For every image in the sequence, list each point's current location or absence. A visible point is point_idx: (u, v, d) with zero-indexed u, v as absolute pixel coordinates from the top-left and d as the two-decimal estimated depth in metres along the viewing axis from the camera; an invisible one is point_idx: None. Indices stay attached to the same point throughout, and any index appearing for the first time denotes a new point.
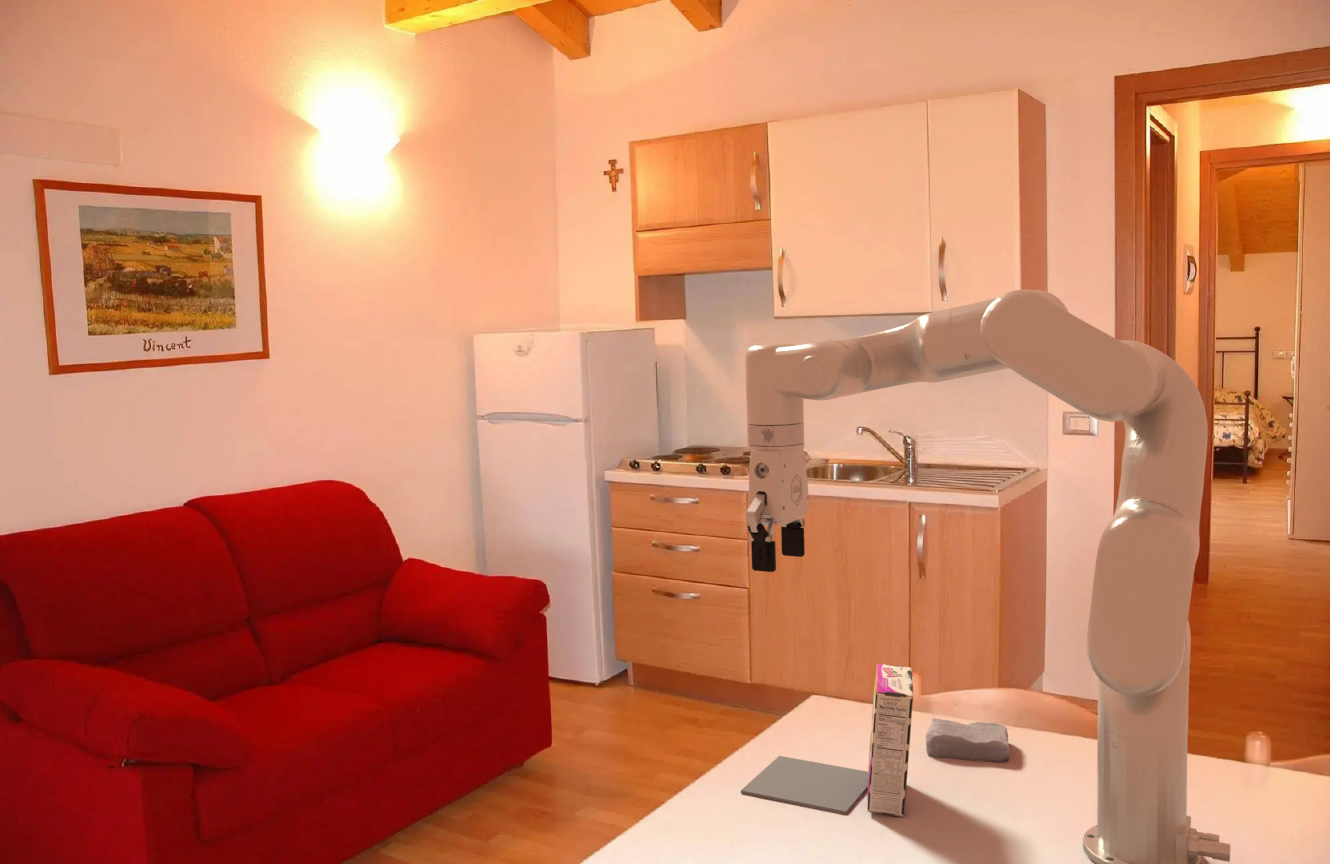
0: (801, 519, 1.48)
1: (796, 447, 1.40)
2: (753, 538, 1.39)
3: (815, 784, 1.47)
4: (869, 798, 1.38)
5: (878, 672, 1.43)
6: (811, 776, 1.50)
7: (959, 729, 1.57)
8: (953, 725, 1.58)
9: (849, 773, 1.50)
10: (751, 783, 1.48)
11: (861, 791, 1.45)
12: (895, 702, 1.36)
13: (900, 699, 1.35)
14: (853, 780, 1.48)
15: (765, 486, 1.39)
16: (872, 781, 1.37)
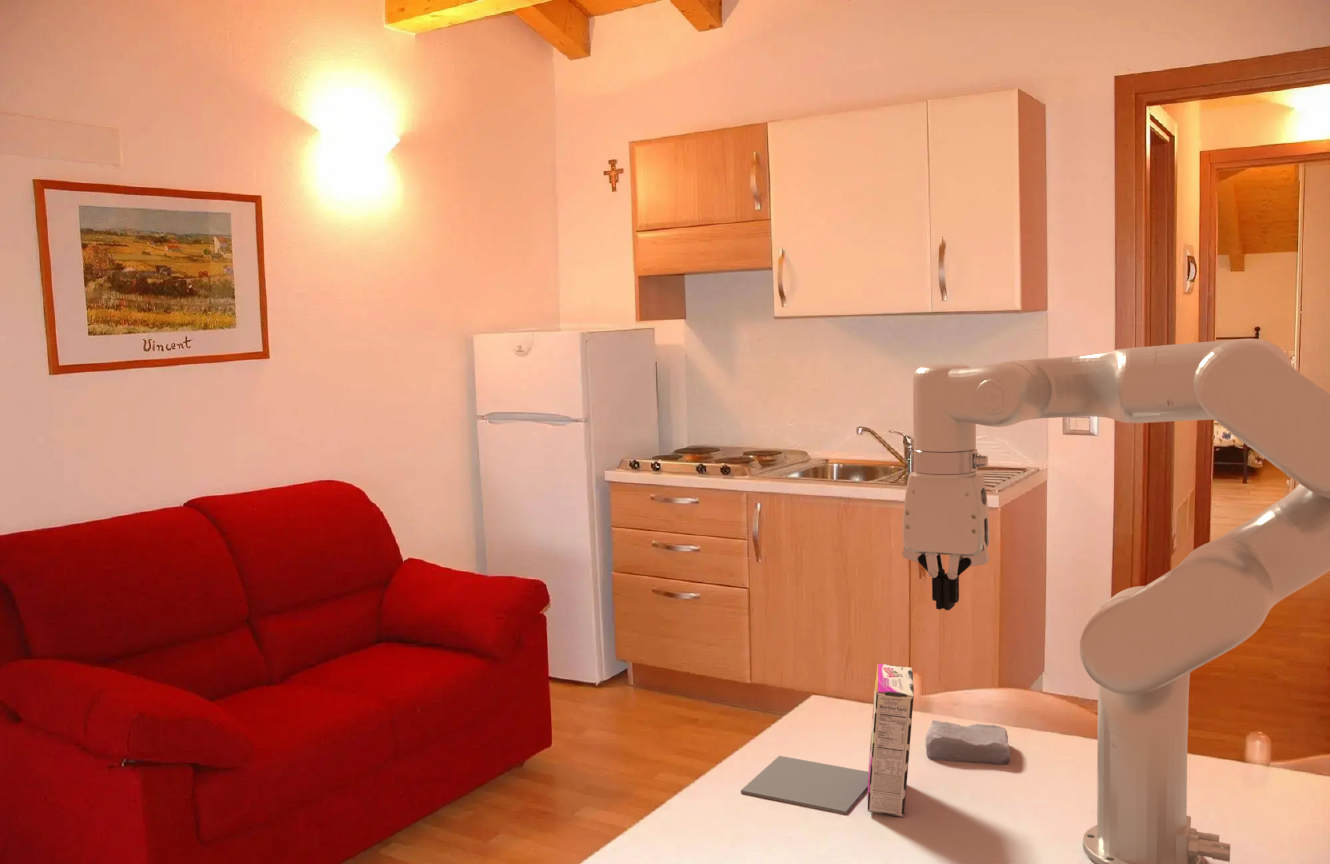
0: None
1: None
2: (958, 575, 1.34)
3: (815, 784, 1.47)
4: (869, 798, 1.38)
5: (879, 672, 1.43)
6: (811, 776, 1.50)
7: (959, 731, 1.56)
8: (953, 727, 1.57)
9: (849, 773, 1.50)
10: (751, 783, 1.48)
11: (861, 791, 1.45)
12: (896, 702, 1.36)
13: (901, 699, 1.35)
14: (853, 780, 1.48)
15: (986, 511, 1.33)
16: (873, 781, 1.37)
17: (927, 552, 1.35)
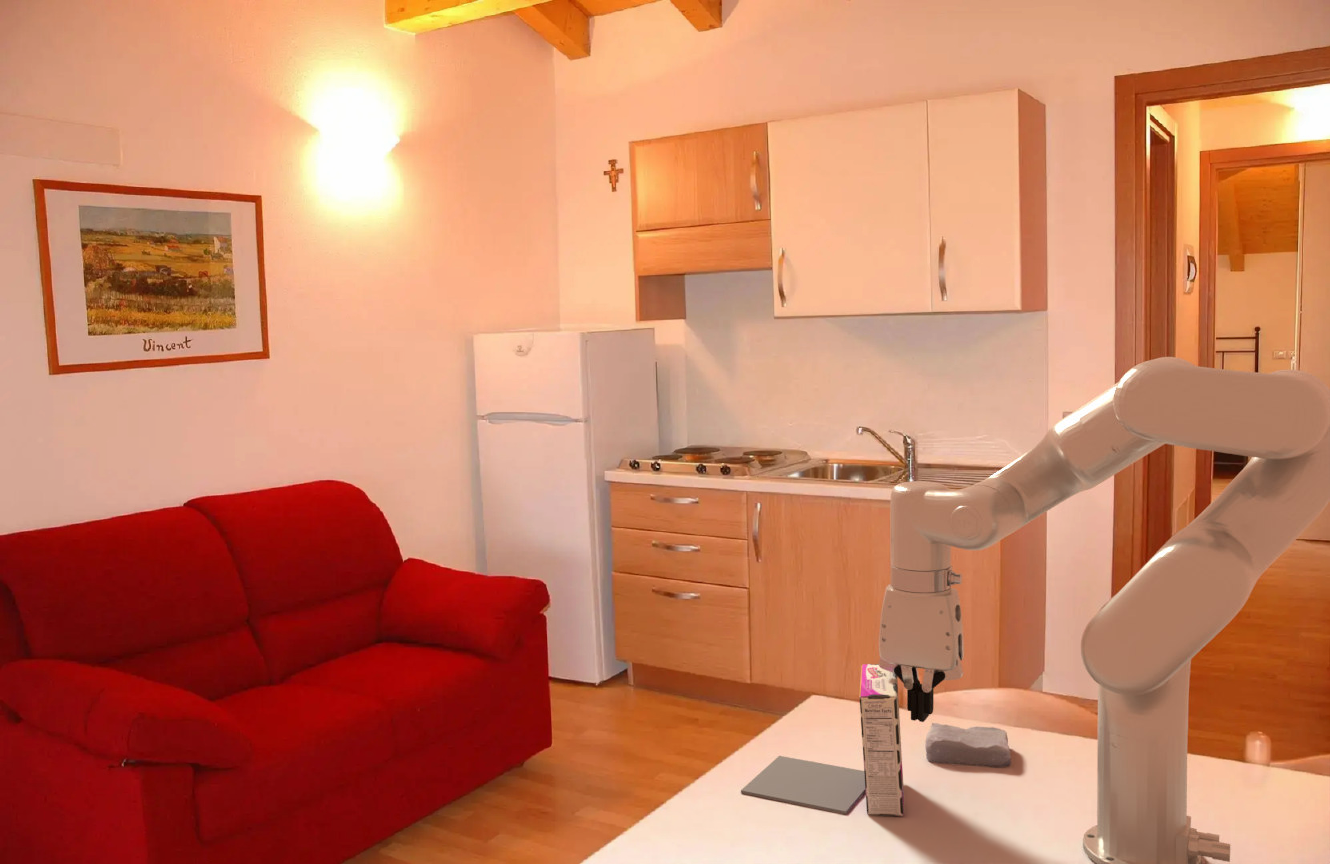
0: None
1: None
2: (932, 688, 1.37)
3: (815, 784, 1.47)
4: (867, 801, 1.38)
5: (862, 674, 1.43)
6: (811, 776, 1.50)
7: (959, 734, 1.55)
8: (953, 730, 1.56)
9: (849, 773, 1.50)
10: (751, 783, 1.48)
11: (861, 791, 1.45)
12: (880, 704, 1.35)
13: (884, 700, 1.35)
14: (853, 780, 1.48)
15: (960, 627, 1.36)
16: (868, 784, 1.37)
17: (902, 665, 1.38)
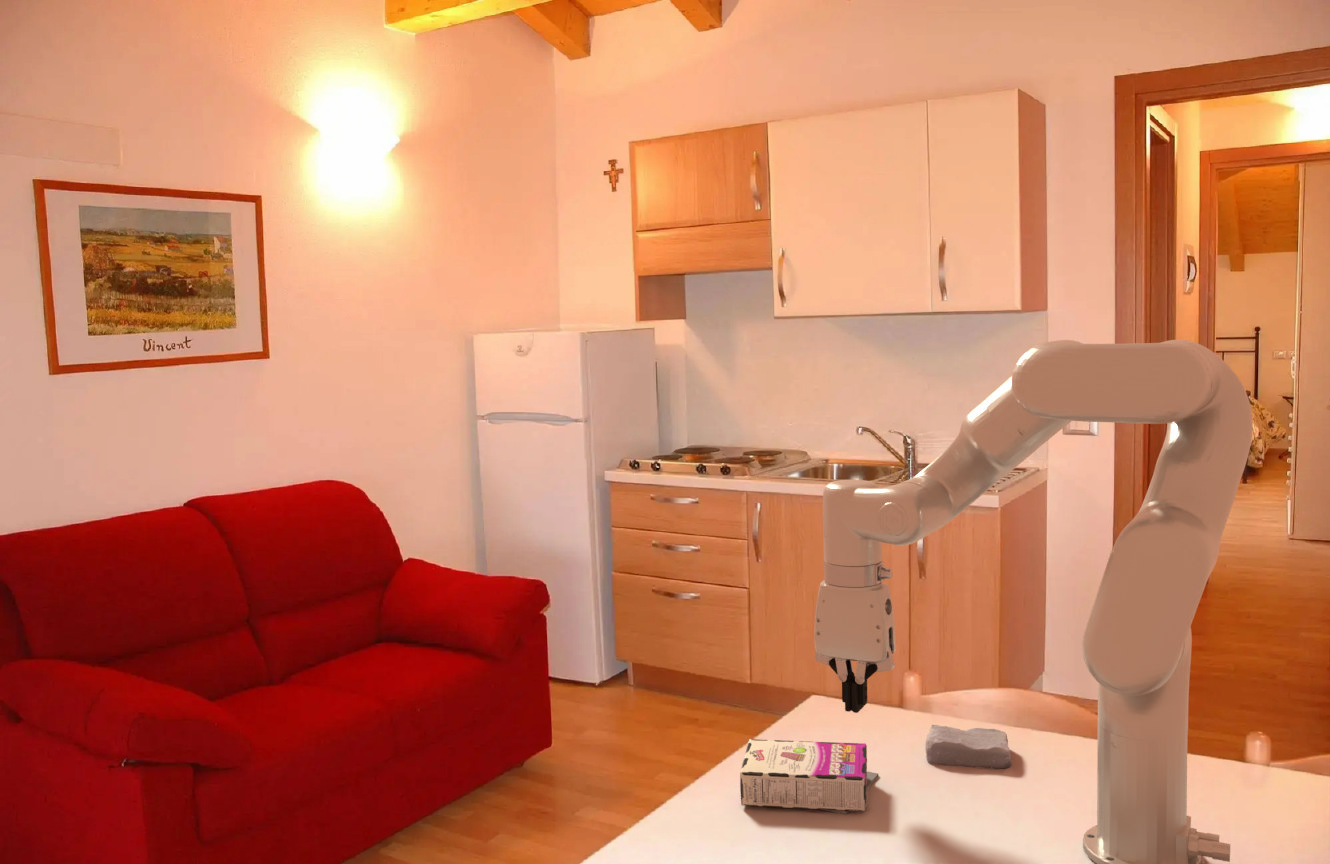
0: None
1: None
2: (865, 680, 1.42)
3: None
4: (851, 810, 1.39)
5: None
6: None
7: (959, 735, 1.55)
8: (953, 731, 1.56)
9: None
10: None
11: None
12: (748, 788, 1.41)
13: (744, 784, 1.41)
14: None
15: (891, 621, 1.41)
16: (832, 807, 1.39)
17: (836, 657, 1.42)
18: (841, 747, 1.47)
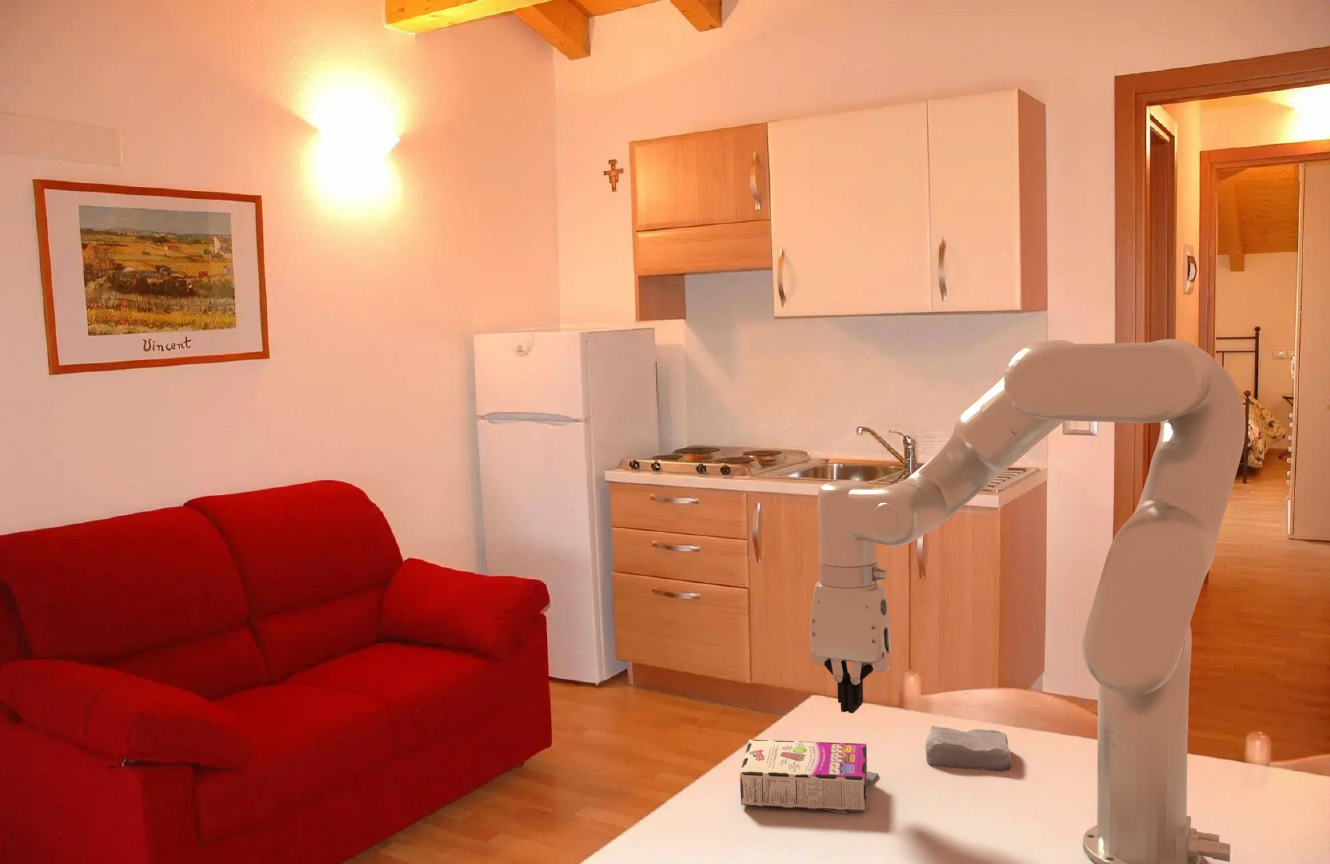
0: None
1: None
2: (861, 680, 1.42)
3: None
4: (851, 809, 1.39)
5: None
6: None
7: (959, 737, 1.54)
8: (953, 733, 1.55)
9: None
10: None
11: None
12: (748, 788, 1.41)
13: (744, 783, 1.41)
14: None
15: (886, 621, 1.41)
16: (832, 807, 1.39)
17: (832, 658, 1.43)
18: (841, 747, 1.47)
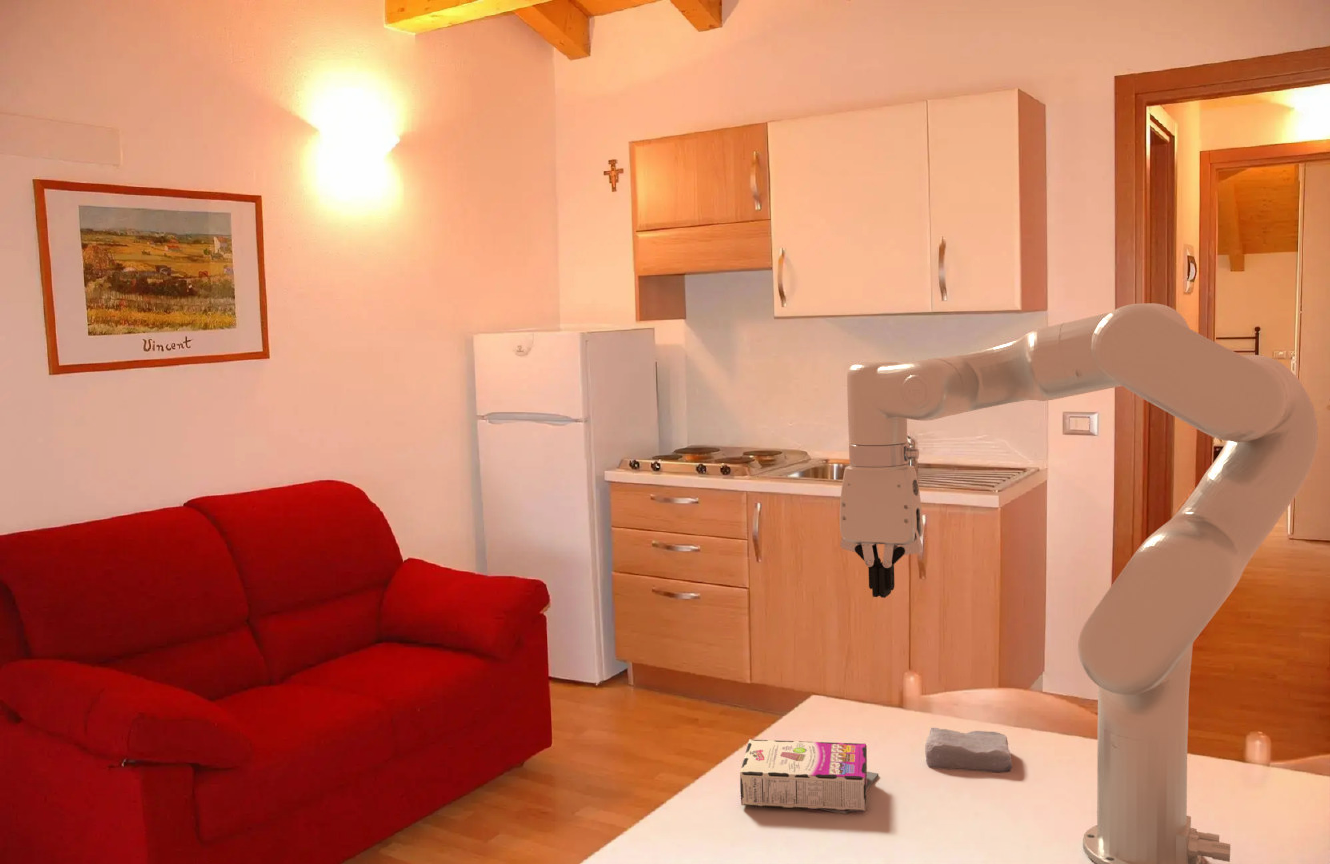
0: None
1: None
2: (892, 564, 1.40)
3: None
4: (851, 809, 1.39)
5: None
6: None
7: (959, 738, 1.54)
8: (953, 734, 1.55)
9: None
10: None
11: None
12: (748, 788, 1.41)
13: (744, 783, 1.41)
14: None
15: (918, 502, 1.39)
16: (832, 807, 1.39)
17: (863, 542, 1.40)
18: (841, 747, 1.47)
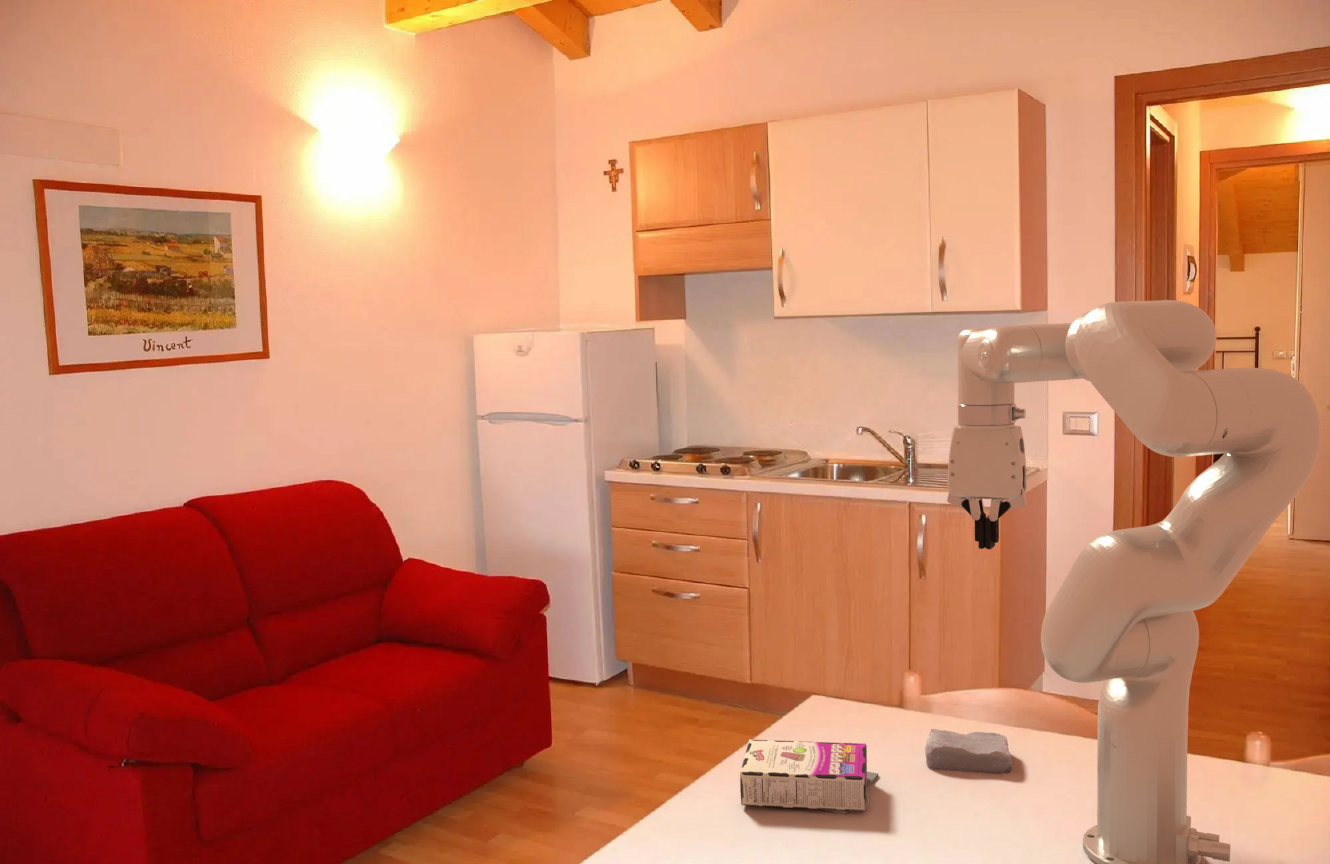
0: None
1: None
2: (998, 517, 1.49)
3: None
4: (851, 809, 1.39)
5: None
6: None
7: (959, 740, 1.53)
8: (953, 736, 1.54)
9: None
10: None
11: None
12: (748, 788, 1.41)
13: (744, 783, 1.41)
14: None
15: (1024, 459, 1.48)
16: (832, 807, 1.39)
17: (970, 497, 1.49)
18: (841, 747, 1.47)
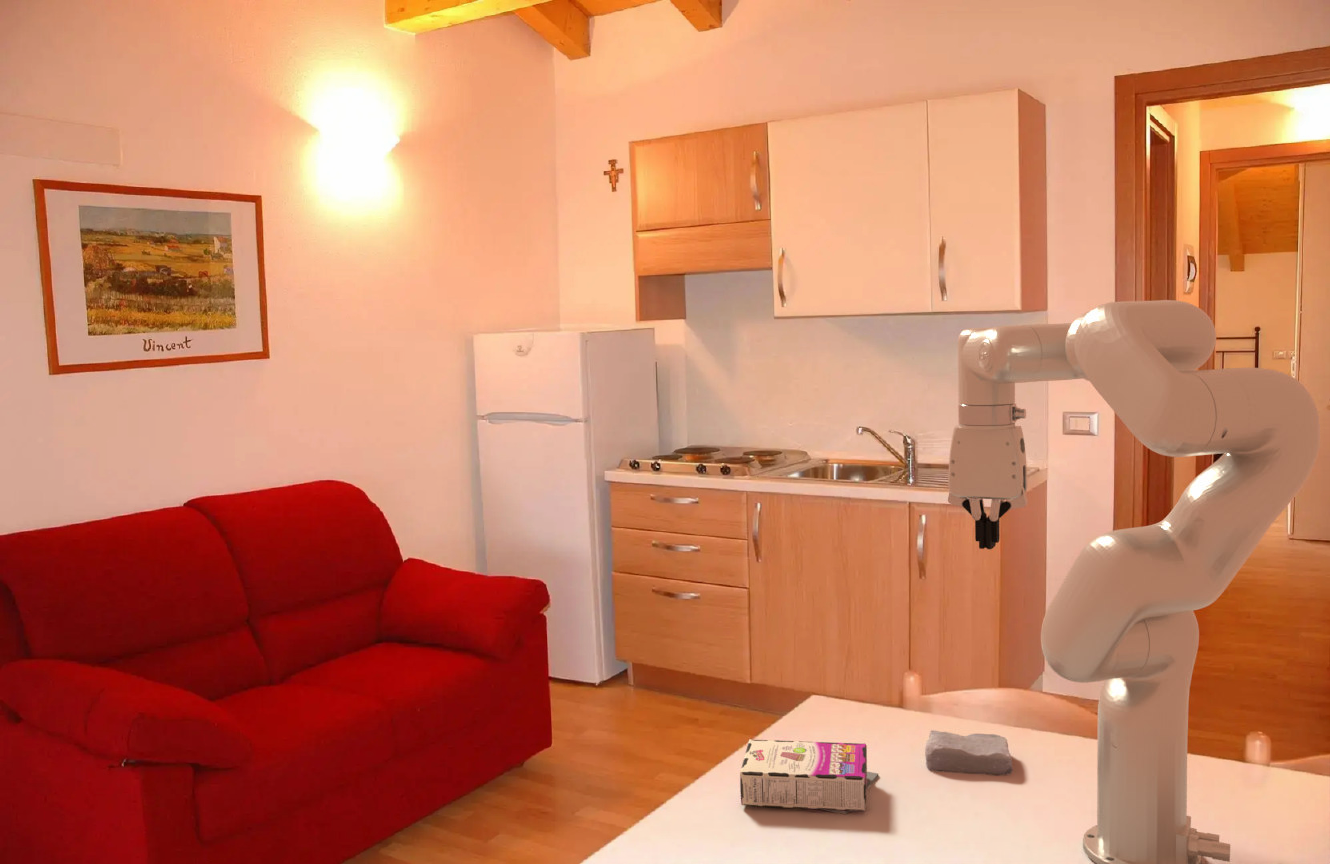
0: None
1: None
2: (999, 517, 1.49)
3: None
4: (851, 809, 1.39)
5: None
6: None
7: (959, 741, 1.52)
8: (953, 737, 1.54)
9: None
10: None
11: None
12: (748, 788, 1.41)
13: (744, 783, 1.41)
14: None
15: (1024, 459, 1.48)
16: (832, 807, 1.39)
17: (971, 497, 1.49)
18: (841, 747, 1.47)
